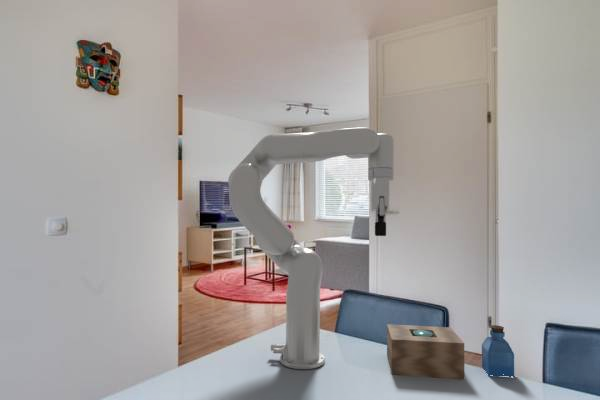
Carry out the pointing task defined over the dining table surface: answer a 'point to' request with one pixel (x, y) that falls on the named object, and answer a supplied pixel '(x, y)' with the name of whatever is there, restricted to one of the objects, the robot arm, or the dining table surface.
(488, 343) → the perfume bottle
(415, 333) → the plunger
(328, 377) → the dining table surface
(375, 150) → the robot arm
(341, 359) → the dining table surface
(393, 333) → the housing
